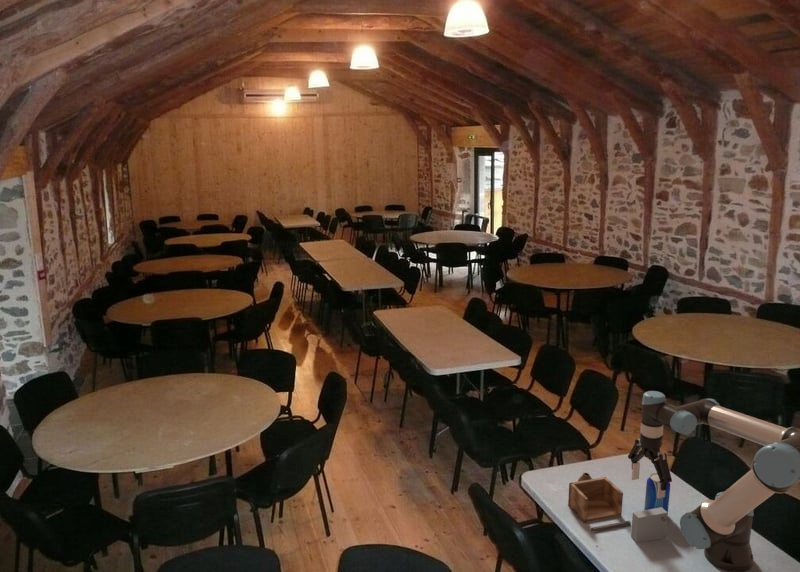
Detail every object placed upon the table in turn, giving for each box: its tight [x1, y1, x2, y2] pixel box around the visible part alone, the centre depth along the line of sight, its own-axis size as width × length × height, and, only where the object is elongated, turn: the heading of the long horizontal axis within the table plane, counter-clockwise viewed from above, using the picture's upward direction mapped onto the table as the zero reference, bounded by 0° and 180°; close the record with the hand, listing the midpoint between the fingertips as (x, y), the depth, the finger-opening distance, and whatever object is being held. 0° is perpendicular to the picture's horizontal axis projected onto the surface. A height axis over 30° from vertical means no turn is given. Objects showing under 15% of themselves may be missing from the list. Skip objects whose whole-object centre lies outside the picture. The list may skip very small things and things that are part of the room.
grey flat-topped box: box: [630, 507, 669, 543], centre depth 237 cm, size 5×12×10 cm, turn 105°
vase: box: [576, 472, 593, 482], centre depth 266 cm, size 7×7×9 cm
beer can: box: [643, 472, 671, 513], centre depth 250 cm, size 8×8×16 cm
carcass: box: [567, 476, 632, 533], centre depth 251 cm, size 18×16×10 cm
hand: (647, 488), depth 238 cm, fingers open, 13 cm apart
